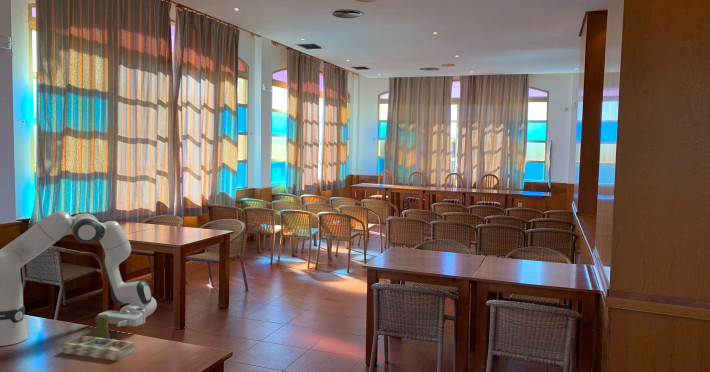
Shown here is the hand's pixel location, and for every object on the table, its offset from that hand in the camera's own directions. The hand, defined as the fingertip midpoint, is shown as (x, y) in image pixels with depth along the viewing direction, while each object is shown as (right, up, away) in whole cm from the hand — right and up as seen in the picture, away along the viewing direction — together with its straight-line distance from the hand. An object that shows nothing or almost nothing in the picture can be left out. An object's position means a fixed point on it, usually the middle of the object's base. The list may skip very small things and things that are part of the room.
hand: (107, 323), depth 221 cm
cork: (-1, -6, -3) cm, 7 cm away
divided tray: (+4, -7, -16) cm, 18 cm away
